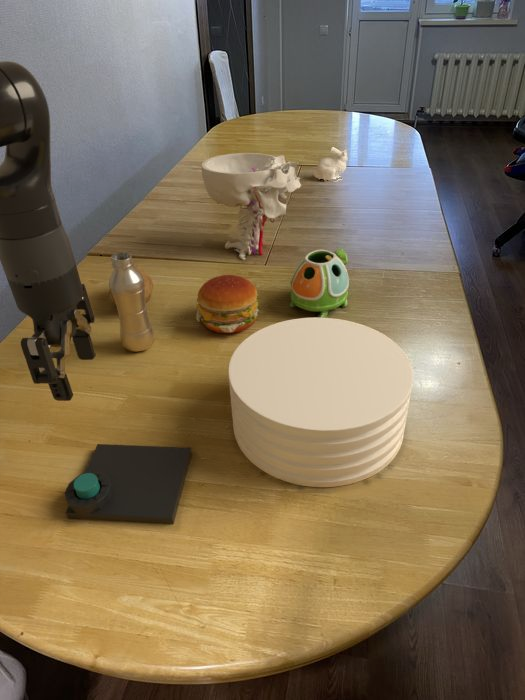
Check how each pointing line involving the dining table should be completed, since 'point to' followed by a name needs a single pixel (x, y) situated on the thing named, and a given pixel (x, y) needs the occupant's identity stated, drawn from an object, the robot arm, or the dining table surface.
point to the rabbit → (332, 166)
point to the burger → (227, 304)
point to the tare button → (86, 486)
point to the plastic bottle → (130, 303)
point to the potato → (147, 285)
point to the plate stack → (319, 400)
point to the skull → (250, 192)
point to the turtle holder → (320, 282)
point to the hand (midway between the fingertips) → (76, 377)
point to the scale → (133, 484)
